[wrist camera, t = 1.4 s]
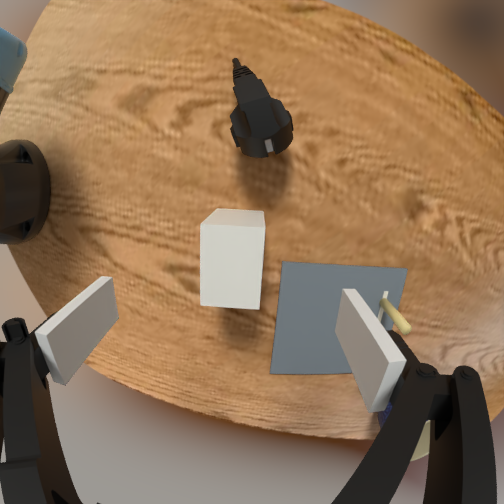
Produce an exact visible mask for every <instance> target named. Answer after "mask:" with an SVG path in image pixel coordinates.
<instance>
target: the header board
mask: <svg viewBox="0 0 504 504" xmlns="http://www.w3.org/2000/svg"><path fill="white" fill-rule="evenodd" d="M407 270H408V269H406V268H391V267H372V266H354V265H336V264H319V263H301V262H285V261H282V270H281V280H280V289H279V299H278V308H277V317H276V326H275V335H274V343H273V351H272V360H271V367H270V374H337V373H352V370H351V368H350V366H349V363H348V361H347V358H346V356H345V354H344V351H343V349H342V347H341V344H340V342H339V340H338V337H337V335H336V333H335V328H336V323H337V317H338V312H339V307H340V301H341V295H342V290H343V289H356V290H357V292H358V293H359V294H360V296H361V297H362V298H363V300H364V301H365V302H366V304H367V305H368V306H369V308H370V309H371V311H372V312H373V313H374V315H375V316H376V317H377V319H378V320H379V322H380V323H381V324H382V326H383V327H384V329H385V330H392V327H393V324H394V323H395V324H396V326H397V327H398V328H399V330H400V331H401V332H402V333H403V334H404V335H407V334H409V333H410V331H411V329H412V327H411V326H410V325H409V323H408V322H407V321H406V320H405V319H404V318H403V316H402V315H401V314H400V313H399V312H398V311H397V310H398V306H399V303H400V299H401V295H402V291H403V287H404V283H405V279H406V274H407Z"/></svg>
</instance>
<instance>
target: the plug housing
mask: <svg viewBox="0 0 504 504" xmlns="http://www.w3.org/2000/svg"><path fill="white" fill-rule="evenodd" d="M264 244H265V220H264V212H263V211H255V210H238V209H219V208H217V209H216V210H215V211H214V212H213V213H212V214H211V215H209V216H208V217H207V218H206V219H205V220H204V221H203V222H202V223H201V229H200V303H201V305H203V306H215V307H228V308H242V309H258V310H259V306H260V297H261V284H262V271H263V257H264Z"/></svg>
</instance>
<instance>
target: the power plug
mask: <svg viewBox="0 0 504 504" xmlns="http://www.w3.org/2000/svg"><path fill="white" fill-rule="evenodd" d="M232 62H233V64H234V66H235V68H234V69H233V82H234V85H235V86H234V87H233V90H234V93H235V96H236V98H237V101H238V105H237V107H236V108H235V109H234V111H233V112H232V113H231V115H230V118H231V122H232V127H231V128H230V130H231V134H232V136H233V139H234V141H235V144H236V146H237V147H241V150H242V153H244V154H245V155H247V156H250V157H254V158H264V157H268V152H271V151H275V154H278V153H280V152H282V151H283V150H285V149H286V148H287V147H288V146H289V145H290V144H291V142H292V140H293V133H292V131H293V124H292V117H291V115H290V113H289V111H287V110H285V108H284V106H283V104H282V102H281V101H280V100H277V99H274V98H271V97H270V95H269V93H268V91H267V89H266V87H265V85H264V84H263V82H262V80H261V79H257V77H256V75H255V74H254V73H253V72H252V71H251V70H250V69H249V68H248V67H247V66H241V64H240V62H239V60H238V59H237V58H234V59H233V60H232Z"/></svg>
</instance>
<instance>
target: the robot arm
mask: <svg viewBox="0 0 504 504" xmlns="http://www.w3.org/2000/svg"><path fill="white" fill-rule="evenodd" d="M26 58H27V47H26V44H25V43H24V42H23V41H21V40H20V39H18V38H17V37H15V36H14V35H12V34H11V33H9V32H7V31H6V30H4V29H2V28H0V114H1V112H2V109H3V107H4V105H5V103H6V100H7V98H8V96H9V94H11V93H12V92H13V86H14V84H15V82H16V79H17V77H18V75H19V73H20V71H21V69H22V67H23V65H24V63H25V61H26ZM49 201H50V179H49V173H48V168H47V164H46V161H45V159H44V156H43V154H42V153H41V151H40V150H39V148H38V147H37V146H36V145H35V144H34V143H32V142H30V141H28V140H10V141H7V142H5V143H3V144H1V145H0V244H12V245H15V244H20V243H23V242H25V241H28V240H30V239H32V238H33V237H34V236H36V235H37V234H38V232H39V231H40V229H41V228H42V226H43V224H44V222H45V219H46V216H47V212H48V208H49ZM118 319H119V316H118V310H117V305H116V299H115V292H114V286H113V278H112V277H106V276H101V277H100V278H99V279H97V280H96V281H95V282H94V283H92V284H91V285H90V286H89V287H87V288H86V289H85V290H84V291H82V292H81V293H80V294H79V295H77V296H76V297H75V298H74V299H73V300H71V301H70V302H69V303H68V304H66V305H65V306H64V307H63V308H62V309H61V310H59V311H58V312H56V313H54V314H52V315H51V316H50V317H48V318H47V320H45V321H44V322H43V323H42V324H40V325H39V326H38V327H37V328H36V329H35V330H33V331H32V332H31V333H30V334H29V333H28V329H27V326H26V323H25V320H24V319H22V318H12V319H9V320H8V321H6V322H5V323H4V324H3V325H2V330H3V332H4V335H5V338H6V340H7V342H0V461H1V453H2V446H3V440H4V442H5V453H6V462H5V463H4V462H3V463H0V482H1V488H2V494H3V499H4V503H5V504H83V503H82V502H81V501H80V499H79V497H78V495H77V493H76V490H75V487H74V485H73V482H72V479H71V476H70V474H69V470H68V468H67V465H66V461H65V458H64V454H63V451H62V447H61V444H60V440H59V436H58V432H57V427H56V423H55V418H54V413H53V408H52V403H51V397H50V391H49V384H48V380H47V378H46V375H47V374H48V373H49V372H50V374H51V376H52V378H53V381H54V382H57V383H60V384H62V385H66V384H67V383H68V382H69V380H70V379H71V378H72V376H73V375H74V374H75V372H76V371H77V370H78V368H79V367H80V366H81V365H82V363H83V362H84V361H85V360H86V358H87V357H88V356H89V354H90V353H91V352H92V351H93V349H94V348H95V347H96V346H97V344H98V343H99V342H100V341H101V339H102V338H103V337H104V336H105V334H106V333H107V332H108V331H109V330H110V328H111V327H112V326H113V325H114V324H115V322H116V321H117V320H118ZM335 333H336V335H337V337H338V340H339V342H340V344H341V347H342V349H343V351H344V354H345V356H346V358H347V361H348V363H349V366H350V368H351V370H352V373H353V375H354V378H355V380H356V382H357V385H358V387H359V390H360V392H361V395H362V397H363V400H364V402H365V405H366V407H367V410H368V412H369V413H371V412H378V411H384V410H385V409H386V407H387V405H388V403H389V401H390V403H391V405H392V409H391V411H390V413H389V415H388V417H387V419H386V421H385V423H384V425H383V426H382V428H381V430H380V432H379V434H378V435H377V437H376V439H375V441H374V442H373V444H372V446H371V447H370V449H369V451H368V452H367V454H366V455H365V457H364V459H363V460H362V462H361V463H360V465H359V466H358V468H357V469H356V471H355V472H354V474H353V475H352V477H351V478H350V479H349V481H348V482H347V484H346V485H345V486H344V488H343V489H342V490H341V492H340V493H339V495H338V496H337V497H336V498H335V500H334V501H333V502H332V503H331V504H389V503H390V501H391V499H392V497H393V495H394V494H395V492H396V490H397V488H398V486H399V484H400V482H401V480H402V478H403V476H404V474H405V472H406V470H407V467H408V465H409V463H410V461H411V458H412V456H413V454H414V451H415V449H416V446H417V444H418V441H419V439H420V436H421V434H422V431H423V428H424V425H425V422H426V420H430V445H429V460H428V471H427V479H426V487H425V494H424V500H423V504H497V486H496V485H497V484H496V465H495V456H494V447H493V439H492V432H491V426H490V420H489V415H488V410H487V405H486V400H485V396H484V392H483V388H482V384H481V380H480V376H479V374H478V372H477V371H476V370H474V369H473V368H471V367H469V366H458V367H457V368H456V369H455V370H454V372H453V374H452V375H441V374H439V373H438V371H437V369H436V368H434V367H433V366H431V365H429V364H426V363H420V362H419V360H418V359H417V358H416V356H415V355H414V353H413V352H412V351H411V349H410V348H408V345H407V344H406V343H405V341H404V340H403V339H402V337H401V336H400V335H399V334H397V333H396V332H394V331H393V330H385V329H384V327H383V326H382V324H381V323H380V322H379V320H378V319H377V317H376V316H375V315H374V313H373V312H372V311H371V309H370V308H369V306H368V305H367V304H366V302H365V301H364V300H363V298H362V297H361V296H360V294H359V293H358V292H357V290H356V289H343V290H342V295H341V301H340V307H339V312H338V317H337V323H336V328H335ZM97 504H100V503H97Z"/></svg>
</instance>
